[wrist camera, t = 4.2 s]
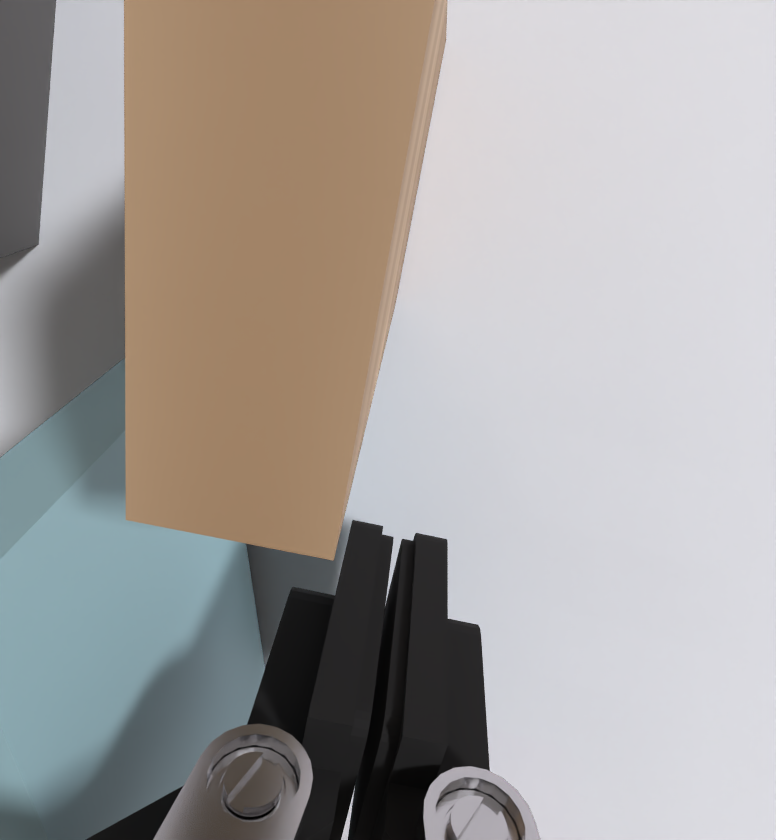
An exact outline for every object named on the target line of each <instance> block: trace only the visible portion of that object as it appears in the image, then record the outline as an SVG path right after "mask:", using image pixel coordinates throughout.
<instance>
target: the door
mask: <svg viewBox="0 0 776 840" xmlns="http://www.w3.org/2000/svg"><path fill="white" fill-rule="evenodd" d="M264 671H265V665H264V658H263V651H262V645H261V638H260V632H259V625H258V619H257V612H256V606H255V599H254V593H253V586H252V580H251V573H250V566H249V560H248V553H247V547H246V543H241V542H236V541H231V540H225V539H220V538H215V537H210V536H205V535H200V534H195V533H190V532H185V531H179V530H174V529H169V528H164V527H159V526H154V525H149V524H144V523H138V522H133V521H128V520H126V471H125V358H124V359H123V360H121V361H120V362H119V363H118V364H116V365H115V366H114V367H113V368H111V369H110V370H109V371H108V372H106V373H105V374H104V375H103V376H101V377H100V378H99V379H98V380H96V381H95V382H94V383H93V384H91V385H90V386H89V387H88V388H86V389H85V390H84V391H83V392H81V393H80V394H79V395H78V396H76V397H75V398H74V399H73V400H71V401H70V402H69V403H68V404H67V405H65V406H64V407H63V408H62V409H60V410H59V411H58V412H57V413H55V414H54V415H53V416H52V417H50V418H49V419H48V420H47V421H45V422H44V423H43V424H42V425H40V426H39V427H38V428H37V429H35V430H34V431H33V432H32V433H30V434H29V435H28V436H27V437H25V438H24V439H23V440H22V441H20V442H19V443H18V444H17V445H15V446H14V447H13V448H12V449H10V450H9V451H8V452H7V453H5V454H4V455H3V456H2V457H0V840H86V839H88V838H89V837H91V836H93V835H95V834H97V833H98V832H100V831H102V830H104V829H106V828H107V827H109V826H111V825H113V824H115V823H117V822H118V821H120V820H122V819H124V818H126V817H127V816H129V815H131V814H133V813H135V812H136V811H138V810H140V809H142V808H144V807H146V806H147V805H149V804H151V803H153V802H155V801H156V800H158V799H160V798H162V797H164V796H165V795H167V794H169V793H171V792H173V791H174V790H176V789H178V788H180V787H182V786H184V784H185V782H186V780H187V779H188V777H189V775H190V773H191V772H192V770H193V768H194V766H195V764H196V763H197V761H198V759H199V757H200V756H201V754H202V753H203V752H204V751H205V749H206V748H207V747H208V745H209V744H210V743H211V742H212V741H213V740H214V739H216V738H217V737H219V736H220V735H221V734H223V733H224V732H226V731H228V730H231V729H234V728H236V727H239V726H242V725H247V723H248V720H249V717H250V714H251V711H252V708H253V705H254V702H255V698H256V695H257V692H258V689H259V686H260V683H261V680H262V677H263V674H264Z"/></svg>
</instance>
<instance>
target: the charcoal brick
mask: <svg viewBox="0 0 776 840" xmlns="http://www.w3.org/2000/svg"><path fill="white" fill-rule="evenodd" d="M55 8H56V0H0V258H1V257H4V256H7V255H10V254H13V253H16V252H18V251H21V250H24V249H27V248H30V247H33V246H36V245H38V243H39V229H40V215H41V202H42V188H43V174H44V160H45V146H46V132H47V119H48V105H49V91H50V77H51V63H52V49H53V36H54V22H55Z"/></svg>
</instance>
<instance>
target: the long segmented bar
mask: <svg viewBox="0 0 776 840" xmlns="http://www.w3.org/2000/svg"><path fill="white" fill-rule="evenodd" d="M446 24H447V0H124V130H125V471H126V520H128V521H133V522H138V523H144V524H149V525H154V526H159V527H164V528H169V529H174V530H179V531H185V532H190V533H195V534H200V535H205V536H210V537H215V538H220V539H225V540H231V541H236V542H241V543H246V544H251V545H256V546H261V547H266V548H272V549H277V550H282V551H287V552H292V553H297V554H302V555H307V556H313V557H318V558H323V559H328V560H333V561H334V557H335V553H336V549H337V544H338V540H339V536H340V532H341V528H342V524H343V519H344V515H345V511H346V507H347V503H348V499H349V494H350V490H351V486H352V482H353V478H354V474H355V470H356V465H357V461H358V457H359V453H360V449H361V445H362V440H363V436H364V432H365V428H366V424H367V420H368V416H369V411H370V407H371V403H372V399H373V395H374V391H375V386H376V382H377V378H378V374H379V370H380V366H381V362H382V357H383V353H384V349H385V345H386V341H387V337H388V332H389V328H390V324H391V320H392V316H393V312H394V308H395V303H396V298H397V293H398V288H399V282H400V277H401V272H402V267H403V261H404V256H405V251H406V246H407V241H408V235H409V230H410V225H411V220H412V214H413V209H414V204H415V199H416V194H417V188H418V183H419V178H420V173H421V167H422V162H423V157H424V152H425V147H426V141H427V136H428V131H429V126H430V121H431V115H432V110H433V105H434V100H435V94H436V89H437V84H438V79H439V74H440V68H441V63H442V58H443V53H444V47H445V42H446Z"/></svg>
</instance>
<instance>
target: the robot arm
mask: <svg viewBox="0 0 776 840" xmlns="http://www.w3.org/2000/svg"><path fill="white" fill-rule="evenodd" d="M382 530H383V526H380V525H375V524H370V523H365V522H360V521H355V520H353V521H352V525H351V529H350V533H349V538H348V542H347V547H346V551H345V555H344V560H343V564H342V568H341V573H340V577H339V582H338V586H337V590H336V595H335V596H334V595H329V594H324V593H319V592H315V591H310V590H305V589H300V588H295V587H292V589H291V591H290V594H289V596H288V600H287V603H286V606H285V609H284V612H283V615H282V618H281V621H280V624H279V627H278V630H277V634H276V637H275V640H274V643H273V646H272V649H271V652H270V655H269V658H268V661H267V664H266V668H265V671H264V674H263V677H262V680H261V683H260V686H259V689H258V692H257V695H256V698H255V702H254V705H253V708H252V711H251V714H250V717H249V720H248V723H247V725H242V726H239V727H236V728H234V729H231V730H228V731H226V732H224V733H223V734H221V735H220V736H219V737H217V738H216V739H214V740H213V741H212V742H211V743H210V744H209V745H208V747H207V748H206V749H205V751H204V752H203V753H202V754H201V756H200V757H199V759H198V761H197V763H196V764H195V766H194V768H193V770H192V772H191V773H190V775H189V777H188V779H187V780H186V782H185V784H184V786H182V787H180V788H178V789H176V790H174V791H173V792H171V793H169V794H167V795H165V796H164V797H162V798H160V799H158V800H156V801H155V802H153V803H151V804H149V805H147V806H146V807H144V808H142V809H140V810H138V811H136V812H135V813H133V814H131V815H129V816H127V817H126V818H124V819H122V820H120V821H118V822H117V823H115V824H113V825H111V826H109V827H107V828H106V829H104V830H102V831H100V832H98V833H97V834H95V835H93V836H91V837H89V838H88V839H86V840H341V837H342V833H343V829H344V825H345V822H346V818H347V814H348V810H349V806H350V802H351V799H352V795H353V791H354V787H355V791H354V798H353V806H352V813H351V820H350V828H349V835H348V840H540V837H539V833H538V829H537V825H536V822H535V820H534V817H533V815H532V813H531V810H530V808H529V805H528V804H527V803H526V801H525V800H524V799H523V797H522V796H521V795H520V793H519V792H518V790H517V789H515V788H514V787H513V786H512V785H511V784H509V783H508V782H507V781H506V780H505V779H504V778H502V777H500V776H498V775H496V774H494V773H492V772H490V769H489V754H488V738H487V723H486V707H485V691H484V676H483V660H482V645H481V633H480V628H479V626H478V625H476V624H471V623H466V622H461V621H457V620H452V619H448V615H447V614H448V613H447V539H443V538H438V537H433V536H428V535H423V534H419V533H416V534H415V536H414V540H413V541H411V540H406V539H402V541H401V545H400V549H399V553H398V557H397V561H396V565H395V569H394V573H393V577H392V581H391V585H390V589H389V594H388V598H387V602H386V594H387V586H388V578H389V570H390V562H391V554H392V546H393V537H391V536H386V535H382ZM385 602H386V606H385Z"/></svg>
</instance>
